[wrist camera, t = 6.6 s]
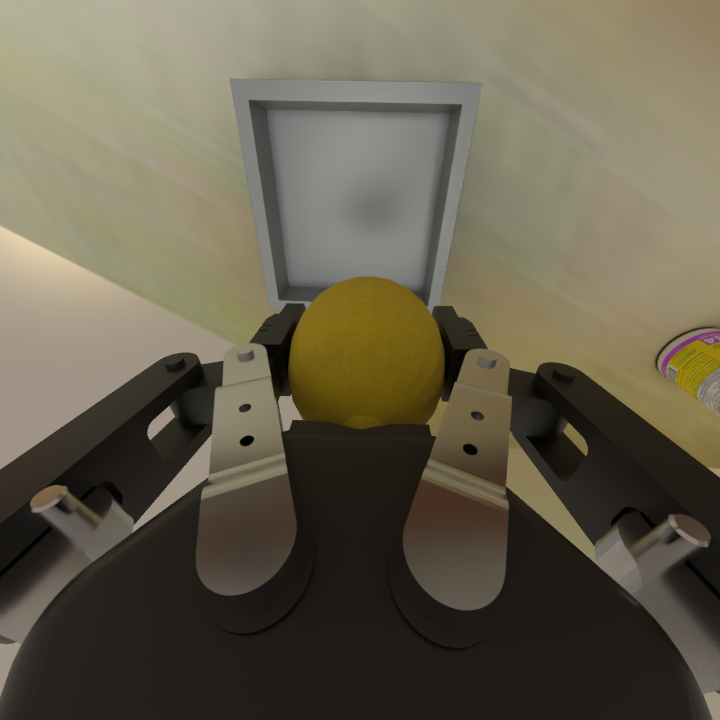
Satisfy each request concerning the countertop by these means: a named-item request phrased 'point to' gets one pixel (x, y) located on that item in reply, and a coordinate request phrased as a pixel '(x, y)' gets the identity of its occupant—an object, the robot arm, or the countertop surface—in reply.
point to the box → (354, 180)
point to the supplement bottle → (695, 365)
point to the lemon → (367, 356)
